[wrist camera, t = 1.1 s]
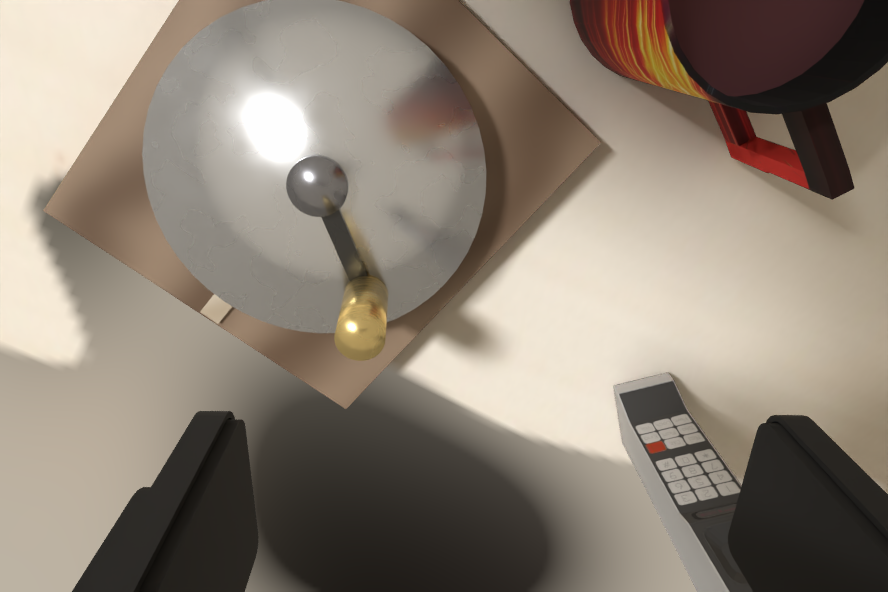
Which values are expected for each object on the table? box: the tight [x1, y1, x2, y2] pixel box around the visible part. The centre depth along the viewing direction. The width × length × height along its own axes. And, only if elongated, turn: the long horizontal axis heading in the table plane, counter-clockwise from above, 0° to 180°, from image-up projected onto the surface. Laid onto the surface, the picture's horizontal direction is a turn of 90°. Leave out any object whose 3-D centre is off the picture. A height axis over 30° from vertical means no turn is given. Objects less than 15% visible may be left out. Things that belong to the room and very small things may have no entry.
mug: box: [570, 0, 888, 200], centre depth 25 cm, size 10×14×12 cm
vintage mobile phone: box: [613, 373, 753, 592], centre depth 30 cm, size 4×5×25 cm
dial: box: [142, 0, 486, 361], centre depth 29 cm, size 17×17×6 cm
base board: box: [43, 0, 601, 409], centre depth 33 cm, size 20×22×2 cm
